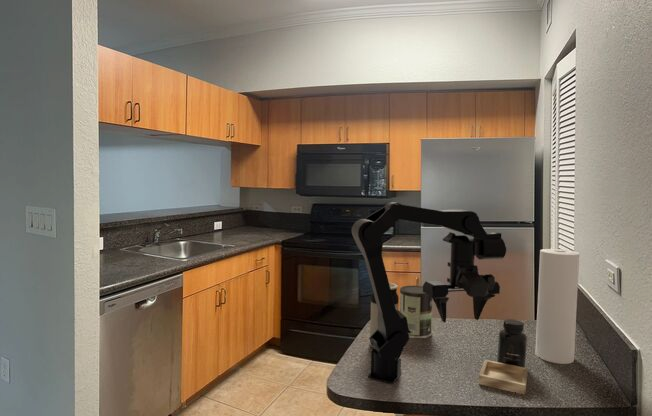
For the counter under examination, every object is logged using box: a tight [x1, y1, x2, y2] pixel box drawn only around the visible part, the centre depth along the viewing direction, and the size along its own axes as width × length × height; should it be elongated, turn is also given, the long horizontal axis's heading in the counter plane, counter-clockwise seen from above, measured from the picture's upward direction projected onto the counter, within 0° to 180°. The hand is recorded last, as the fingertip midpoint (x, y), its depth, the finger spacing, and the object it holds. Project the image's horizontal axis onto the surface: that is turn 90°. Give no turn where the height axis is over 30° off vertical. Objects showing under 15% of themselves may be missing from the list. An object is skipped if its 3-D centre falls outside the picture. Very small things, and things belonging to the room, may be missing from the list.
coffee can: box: [399, 285, 433, 339], centre depth 131 cm, size 10×10×14 cm
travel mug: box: [369, 282, 400, 348], centre depth 121 cm, size 8×8×18 cm
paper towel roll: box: [534, 248, 580, 365], centre depth 114 cm, size 9×9×30 cm
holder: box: [478, 359, 528, 396], centre depth 100 cm, size 10×10×2 cm
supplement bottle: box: [496, 318, 528, 368], centre depth 108 cm, size 7×7×12 cm
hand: (460, 320), depth 105 cm, fingers open, 9 cm apart
